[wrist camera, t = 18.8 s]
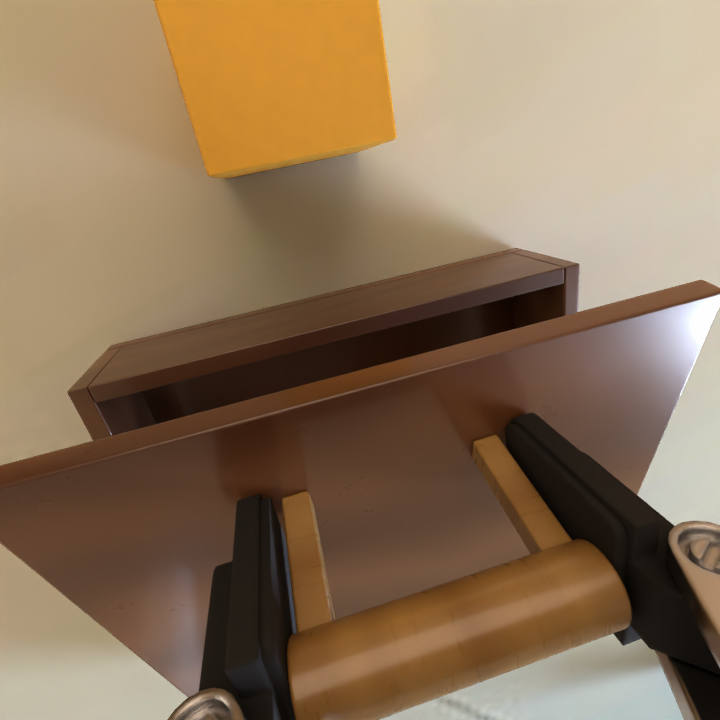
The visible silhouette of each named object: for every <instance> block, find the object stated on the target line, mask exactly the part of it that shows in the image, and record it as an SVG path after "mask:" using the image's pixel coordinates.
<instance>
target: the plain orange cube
mask: <svg viewBox="0 0 720 720" xmlns="http://www.w3.org/2000/svg"><path fill="white" fill-rule="evenodd" d="M154 3H155V7H156V10H157V13H158V16H159V20H160V23H161V26H162V29H163V32H164V36H165V39H166V42H167V45H168V49H169V52H170V55H171V58H172V62H173V65H174V68H175V71H176V74H177V78H178V81H179V84H180V87H181V91H182V94H183V97H184V100H185V104H186V107H187V110H188V113H189V116H190V120H191V123H192V126H193V129H194V133H195V136H196V139H197V142H198V145H199V149H200V152H201V155H202V158H203V162H204V165H205V168H206V171H207V174H208V176H211V177H218V178H224V179H227V178H232V177H237V176H242V175H247V174H252V173H257V172H262V171H267V170H271V169H276V168H281V167H286V166H291V165H296V164H301V163H306V162H311V161H316V160H321V159H326V158H331V157H336V156H341V155H345V154H350V153H355V152H359V151H362V150H365V149H368V148H371V147H374V146H377V145H380V144H383V143H386V142H389V141H392V140H394V139H396V137H397V135H396V128H395V121H394V113H393V106H392V98H391V91H390V83H389V76H388V68H387V61H386V53H385V46H384V38H383V31H382V23H381V16H380V8H379V1H378V0H154Z"/></svg>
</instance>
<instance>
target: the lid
mask: <svg viewBox="0 0 720 720" xmlns="http://www.w3.org/2000/svg"><path fill="white" fill-rule="evenodd" d="M719 306H720V288H719V287H717V286H715V285H712V284H710V283H708V282H706V281H704V280H698V281H694V282H690V283H686V284H683V285H679V286H675V287H671V288H668V289H664V290H660V291H656V292H653V293H649V294H645V295H641V296H637V297H634V298H630V299H626V300H622V301H619V302H615V303H611V304H607V305H604V306H600V307H596V308H592V309H588V310H585V311H581V312H577V313H573V314H570V315H566V316H562V317H558V318H555V319H551V320H547V321H543V322H539V323H536V324H532V325H528V326H524V327H521V328H517V329H513V330H509V331H506V332H502V333H498V334H494V335H490V336H487V337H483V338H479V339H475V340H472V341H468V342H464V343H460V344H457V345H453V346H449V347H445V348H442V349H438V350H434V351H430V352H426V353H423V354H419V355H415V356H411V357H408V358H404V359H400V360H396V361H393V362H389V363H385V364H381V365H377V366H374V367H370V368H366V369H362V370H359V371H355V372H351V373H347V374H344V375H340V376H336V377H332V378H328V379H325V380H321V381H317V382H313V383H310V384H306V385H302V386H298V387H295V388H291V389H287V390H283V391H279V392H276V393H272V394H268V395H264V396H261V397H257V398H253V399H249V400H246V401H242V402H238V403H234V404H231V405H227V406H223V407H219V408H215V409H212V410H208V411H204V412H200V413H197V414H193V415H189V416H185V417H182V418H178V419H174V420H170V421H166V422H163V423H159V424H155V425H151V426H148V427H144V428H140V429H136V430H133V431H129V432H125V433H121V434H117V435H114V436H110V437H106V438H102V439H99V440H95V441H91V442H87V443H84V444H80V445H76V446H72V447H68V448H65V449H61V450H57V451H53V452H50V453H46V454H42V455H38V456H35V457H31V458H27V459H23V460H19V461H16V462H12V463H8V464H4V465H1V466H0V543H1V544H2V545H3V546H5V547H6V548H7V549H8V550H10V551H11V552H12V553H13V554H14V555H16V556H17V557H18V558H19V559H21V560H22V561H23V562H24V563H25V564H27V565H28V566H29V567H30V568H31V569H33V570H34V571H35V572H36V573H38V574H39V575H40V576H41V577H42V578H44V579H45V580H46V581H47V582H49V583H50V584H51V585H52V586H53V587H55V588H56V589H57V590H58V591H59V592H61V593H62V594H63V595H64V596H66V597H67V598H68V599H69V600H70V601H72V602H73V603H74V604H75V605H77V606H78V607H79V608H80V609H81V610H83V611H84V612H85V613H86V614H88V615H89V616H90V617H91V618H92V619H94V620H95V621H96V622H97V623H98V624H100V625H101V626H102V627H103V628H105V629H106V630H107V631H108V632H109V633H111V634H112V635H113V636H114V637H116V638H117V639H118V640H119V641H120V642H122V643H123V644H124V645H125V646H126V647H128V648H129V649H130V650H131V651H133V652H134V653H135V654H136V655H137V656H139V657H140V658H141V659H142V660H144V661H145V662H146V663H147V664H148V665H150V666H151V667H152V668H153V669H154V670H156V671H157V672H158V673H159V674H161V675H162V676H163V677H164V678H165V679H167V680H168V681H169V682H170V683H172V684H173V685H174V686H175V687H176V688H178V689H179V690H180V691H181V692H182V693H184V694H185V695H186V696H187V697H191V696H192V695H194V694H196V693H197V692H199V684H200V676H201V668H202V660H203V652H204V643H205V635H206V627H207V619H208V611H209V602H210V594H211V586H212V578H213V572H214V569H215V567H216V566H218V565H222V564H225V563H228V562H231V561H232V559H233V546H234V532H235V519H236V505H237V501H238V500H241V499H244V498H248V497H251V496H254V495H258V494H261V496H262V498H263V499H265V498H268V497H270V498H271V500H272V503H273V505H274V508H275V511H276V514H277V516H278V519H279V522H280V525H281V527H282V530H283V533H284V536H285V538H286V546H287V554H288V563H289V571H290V580H291V588H292V597H293V605H294V614H295V622H296V631H297V633H294V634H292V635H291V636H290V637H289V638H288V642H287V653H286V657H287V674H288V683H289V690H290V696H291V702H292V707H293V712H294V716H295V720H379V719H382V718H384V717H387V716H390V715H393V714H395V713H398V712H401V711H403V710H406V709H409V708H412V707H414V706H417V705H420V704H422V703H425V702H428V701H431V700H433V699H436V698H439V697H442V696H444V695H447V694H450V693H452V692H455V691H458V690H461V689H463V688H466V687H469V686H471V685H474V684H477V683H480V682H482V681H485V680H488V679H490V678H493V677H496V676H499V675H501V674H504V673H507V672H510V671H512V670H515V669H518V668H520V667H523V666H526V665H529V664H531V663H534V662H537V661H539V660H542V659H545V658H548V657H550V656H553V655H556V654H558V653H561V652H564V651H567V650H569V649H572V648H575V647H578V646H580V645H583V644H586V643H588V642H591V641H594V640H597V639H599V638H602V637H605V636H607V635H610V634H613V633H616V632H618V631H621V630H624V629H626V628H627V627H628V626H629V625H630V624H631V621H632V608H631V603H630V600H629V597H628V594H627V591H626V589H625V587H624V584H623V582H622V581H621V579H620V577H619V575H618V573H617V572H616V570H615V569H614V567H613V565H612V564H611V563H610V561H609V560H608V559H607V558H606V556H605V555H604V554H603V553H602V552H601V551H600V550H599V549H598V548H597V547H596V546H595V545H593V544H592V543H591V542H589V541H587V540H584V539H575V540H571V538H570V537H569V535H568V534H567V533H566V531H565V530H564V528H563V527H562V526H561V524H560V523H559V521H558V520H557V519H556V517H555V516H554V514H553V513H552V512H551V510H550V509H549V507H548V506H547V505H546V503H545V502H544V500H543V499H542V498H541V496H540V495H539V493H538V492H537V490H536V489H535V488H534V486H533V485H532V483H531V482H530V481H529V479H528V478H527V476H526V475H525V474H524V472H523V471H522V469H521V468H520V467H519V465H518V464H517V462H516V461H515V460H514V458H513V457H512V455H511V454H510V453H509V451H508V450H507V448H506V434H505V428H506V426H507V425H510V421H511V419H512V418H514V417H518V416H521V415H524V414H528V413H535V414H536V415H538V416H539V417H540V418H541V419H542V420H544V421H545V422H546V423H547V424H548V425H550V426H551V427H552V428H553V429H554V430H556V431H557V432H558V433H559V434H560V435H562V436H563V437H564V438H565V439H566V440H568V441H569V442H570V443H571V444H572V445H574V446H575V447H576V448H577V449H578V450H580V451H581V452H584V453H586V454H587V455H589V456H590V457H591V458H593V459H594V460H595V461H596V462H597V463H599V464H600V465H601V466H602V467H603V468H605V469H606V470H607V471H608V472H610V473H611V474H612V475H613V476H614V477H616V478H617V479H618V480H619V481H620V482H622V483H623V484H624V485H625V486H626V487H628V488H629V489H630V490H631V491H633V492H634V493H635V494H636V495H637V494H638V492H639V490H640V487H641V485H642V483H643V480H644V478H645V476H646V474H647V471H648V469H649V467H650V464H651V462H652V460H653V457H654V455H655V453H656V451H657V448H658V446H659V444H660V441H661V439H662V437H663V434H664V432H665V430H666V428H667V425H668V423H669V421H670V418H671V416H672V414H673V411H674V409H675V407H676V405H677V402H678V400H679V398H680V395H681V393H682V391H683V388H684V386H685V384H686V382H687V379H688V377H689V375H690V372H691V370H692V368H693V365H694V363H695V361H696V359H697V356H698V354H699V352H700V349H701V347H702V345H703V342H704V340H705V338H706V336H707V333H708V331H709V329H710V326H711V324H712V322H713V319H714V317H715V315H716V313H717V310H718V308H719Z"/></svg>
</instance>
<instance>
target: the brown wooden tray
mask: <svg viewBox="0 0 720 720" xmlns="http://www.w3.org/2000/svg"><path fill="white" fill-rule="evenodd" d="M578 296H579V264H578V263H574V262H570V261H566V260H562V259H558V258H554V257H550V256H546V255H542V254H538V253H534V252H530V251H526V250H522V249H518V248H514V249H510V250H506V251H501V252H497V253H493V254H489V255H485V256H481V257H477V258H472V259H468V260H464V261H460V262H456V263H452V264H447V265H443V266H439V267H435V268H431V269H427V270H423V271H418V272H414V273H410V274H406V275H402V276H398V277H394V278H389V279H385V280H381V281H377V282H373V283H369V284H365V285H360V286H356V287H352V288H348V289H344V290H340V291H335V292H331V293H327V294H323V295H319V296H315V297H311V298H306V299H302V300H298V301H294V302H290V303H286V304H282V305H277V306H273V307H269V308H265V309H261V310H257V311H253V312H248V313H244V314H240V315H236V316H232V317H228V318H224V319H219V320H215V321H211V322H207V323H203V324H199V325H194V326H190V327H186V328H182V329H178V330H174V331H170V332H165V333H161V334H157V335H153V336H149V337H145V338H141V339H136V340H132V341H128V342H124V343H120V344H116V345H112V346H110V347H109V348H108V349H107V351H105V352H104V353H103V354H102V355H101V357H100V358H99V359H98V360H97V361H96V362H95V363H94V364H93V365H92V366H91V367H90V368H89V369H88V370H87V371H86V373H85V374H84V375H83V376H82V377H81V378H80V379H79V380H78V381H77V382H76V383H75V384H74V385H73V386H72V387H71V389H70V390H69V391H68V395H69V397H70V399H71V400H72V402H73V404H74V406H75V408H76V410H77V411H78V413H79V415H80V417H81V419H82V421H83V422H84V424H85V426H86V428H87V430H88V432H89V433H90V435H91V437H92V439H93V441H95V440H99V439H102V438H106V437H110V436H114V435H117V434H121V433H125V432H129V431H133V430H136V429H140V428H144V427H148V426H151V425H155V424H159V423H163V422H166V421H170V420H174V419H178V418H182V417H185V416H189V415H193V414H197V413H200V412H204V411H208V410H212V409H215V408H219V407H223V406H227V405H231V404H234V403H238V402H242V401H246V400H249V399H253V398H257V397H261V396H264V395H268V394H272V393H276V392H279V391H283V390H287V389H291V388H295V387H298V386H302V385H306V384H310V383H313V382H317V381H321V380H325V379H328V378H332V377H336V376H340V375H344V374H347V373H351V372H355V371H359V370H362V369H366V368H370V367H374V366H377V365H381V364H385V363H389V362H393V361H396V360H400V359H404V358H408V357H411V356H415V355H419V354H423V353H426V352H430V351H434V350H438V349H442V348H445V347H449V346H453V345H457V344H460V343H464V342H468V341H472V340H475V339H479V338H483V337H487V336H490V335H494V334H498V333H502V332H506V331H509V330H513V329H517V328H521V327H524V326H528V325H532V324H536V323H539V322H543V321H547V320H551V319H555V318H558V317H562V316H566V315H570V314H573V313H577V312H578Z"/></svg>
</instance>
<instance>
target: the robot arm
mask: <svg viewBox="0 0 720 720" xmlns="http://www.w3.org/2000/svg"><path fill="white" fill-rule="evenodd" d="M505 434H506V448H507V450H508V451H509V453H510V454H511V455H512V457H513V458H514V460H515V461H516V462H517V464H518V465H519V467H520V468H521V469H522V471H523V472H524V474H525V475H526V476H527V478H528V479H529V481H530V482H531V483H532V485H533V486H534V488H535V489H536V490H537V492H538V493H539V495H540V496H541V498H542V499H543V500H544V502H545V503H546V505H547V506H548V507H549V509H550V510H551V512H552V513H553V514H554V516H555V517H556V519H557V520H558V521H559V523H560V524H561V526H562V527H563V528H564V530H565V531H566V533H567V534H568V535H569V537H570V538H571V540H575V539H584V540H587V541H589V542H591V543H592V544H593V545H595V546H596V547H597V548H598V549H599V550H600V551H601V552H602V553H603V554H604V555H605V556H606V558H607V559H608V560H609V561H610V563H611V564H612V565H613V567H614V569H615V570H616V572H617V573H618V575H619V577H620V579H621V581H622V582H623V584H624V587H625V589H626V591H627V594H628V597H629V600H630V603H631V608H632V621H631V624H630V625H629V626H628V627H627V628H626V629H624V630H621V631H618V632H616V633H614V635H615V636H616V637H617V639H618V640H619V641H620V642H621V644H622V645H626V644H629V643H631V642H634V641H636V640H639V639H642V640H643V641H644V642H645V643H646V644H647V646H648V647H649V648H650V649H653V650H655V652H656V654H657V656H658V659H659V661H660V664H661V666H662V668H663V671H664V673H665V675H666V678H667V680H668V682H669V685H670V687H671V690H672V692H673V694H674V697H675V699H676V701H677V704H678V706H679V708H680V711H681V713H682V716H683V718H684V720H720V525H717V524H713V523H710V522H702V521H689V522H682V523H680V524H678V525H676V526H674V525H673V524H671V523H670V522H669V521H668V520H666V519H665V518H664V517H663V516H662V515H660V514H659V513H658V512H657V511H656V510H654V509H653V508H652V507H651V506H649V505H648V504H647V503H646V502H645V501H643V500H642V499H641V498H640V497H639V496H637V495H636V494H635V493H634V492H633V491H631V490H630V489H629V488H628V487H626V486H625V485H624V484H623V483H622V482H620V481H619V480H618V479H617V478H616V477H614V476H613V475H612V474H611V473H610V472H608V471H607V470H606V469H605V468H603V467H602V466H601V465H600V464H599V463H597V462H596V461H595V460H594V459H593V458H591V457H590V456H589V455H587V454H586V453H584V452H581V451H580V450H578V449H577V448H576V447H575V446H574V445H572V444H571V443H570V442H569V441H568V440H566V439H565V438H564V437H563V436H562V435H560V434H559V433H558V432H557V431H556V430H554V429H553V428H552V427H551V426H550V425H548V424H547V423H546V422H545V421H544V420H542V419H541V418H540V417H539V416H538V415H536V414H535V413H528V414H524V415H521V416H518V417H514V418H512V419H511V421H510V425H507V426H506V428H505ZM294 633H297V631H296V622H295V614H294V605H293V597H292V588H291V580H290V571H289V563H288V554H287V546H286V538H285V536H284V533H283V530H282V527H281V525H280V522H279V519H278V516H277V514H276V511H275V508H274V505H273V503H272V500H271V498H270V497H268V498H265V499H263V498H262V496H261V494H258V495H254V496H251V497H248V498H244V499H241V500H238V501H237V505H236V519H235V532H234V546H233V559H232V561H231V562H228V563H225V564H222V565H218V566H216V567H215V569H214V572H213V578H212V586H211V594H210V602H209V611H208V619H207V627H206V635H205V643H204V652H203V660H202V668H201V676H200V684H199V692H197V693H196V694H194V695H192V696H191V697H189V698H187V699H186V700H185V701H184V702H183V703H182V704H181V705H180V706H178V707H177V708H176V709H175V710H174V712H173V713H172V714H171V716H170V717H169V718H168V720H295V716H294V712H293V707H292V702H291V696H290V690H289V683H288V674H287V657H286V653H287V642H288V638H289V637H290V636H291V635H292V634H294Z"/></svg>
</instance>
